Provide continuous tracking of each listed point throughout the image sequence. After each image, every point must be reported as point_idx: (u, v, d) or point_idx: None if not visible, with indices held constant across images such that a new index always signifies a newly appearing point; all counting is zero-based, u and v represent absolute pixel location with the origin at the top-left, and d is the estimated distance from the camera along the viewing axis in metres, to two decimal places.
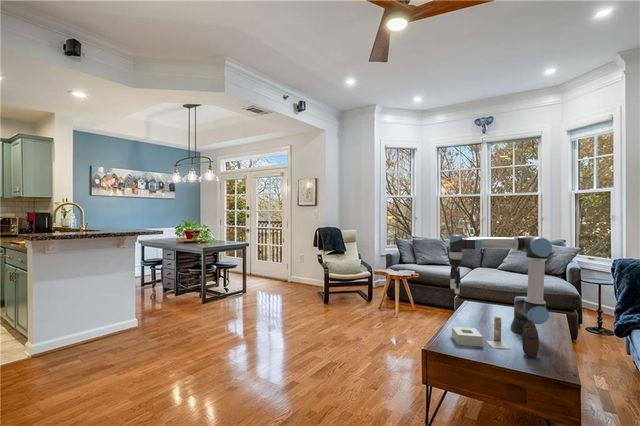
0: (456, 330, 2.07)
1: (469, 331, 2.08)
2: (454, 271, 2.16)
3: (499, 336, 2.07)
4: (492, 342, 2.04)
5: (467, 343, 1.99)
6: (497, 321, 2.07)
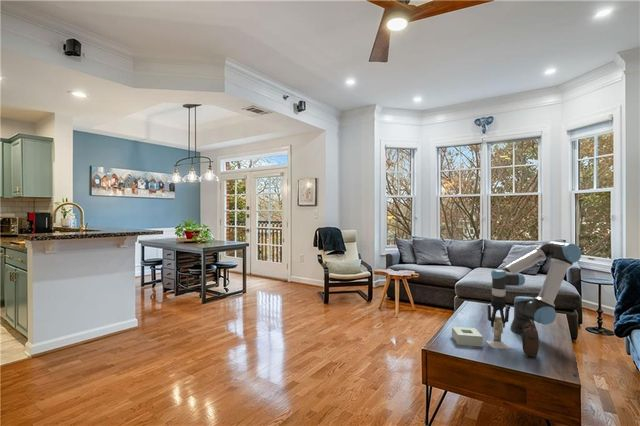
0: (456, 330, 2.07)
1: (469, 331, 2.08)
2: None
3: (499, 336, 2.07)
4: (492, 342, 2.04)
5: (467, 343, 1.99)
6: (497, 321, 2.07)
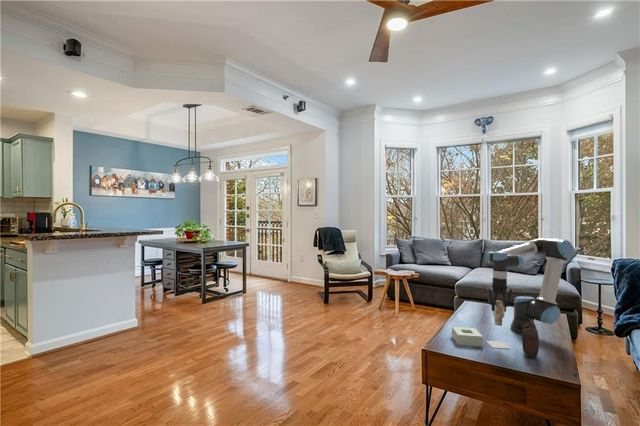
0: (456, 330, 2.07)
1: (469, 331, 2.08)
2: None
3: (500, 320, 1.98)
4: (492, 342, 2.04)
5: (467, 343, 1.99)
6: (498, 305, 1.99)
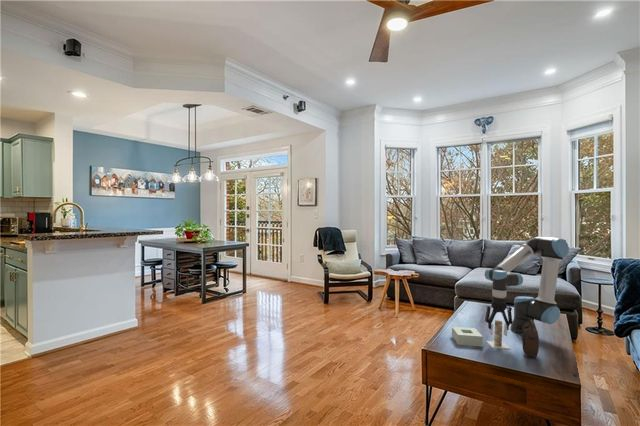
0: (456, 330, 2.07)
1: (469, 331, 2.08)
2: None
3: (500, 341, 1.98)
4: (492, 342, 2.04)
5: (467, 343, 1.99)
6: (498, 325, 1.99)
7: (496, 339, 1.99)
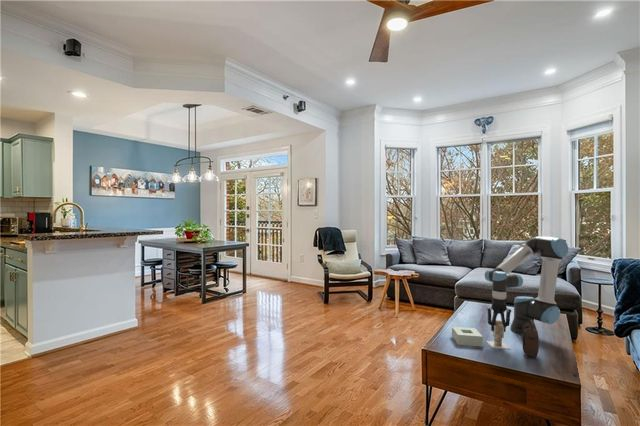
0: (456, 330, 2.07)
1: (469, 331, 2.08)
2: None
3: (500, 341, 1.98)
4: (492, 342, 2.04)
5: (467, 343, 1.99)
6: (498, 325, 1.99)
7: (496, 339, 1.99)
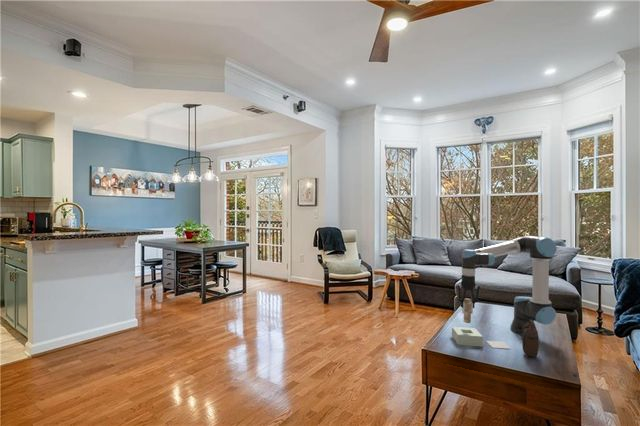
0: (456, 330, 2.07)
1: (469, 331, 2.08)
2: None
3: (468, 318, 2.04)
4: (492, 342, 2.04)
5: (467, 343, 1.99)
6: (467, 303, 2.04)
7: (465, 316, 2.04)
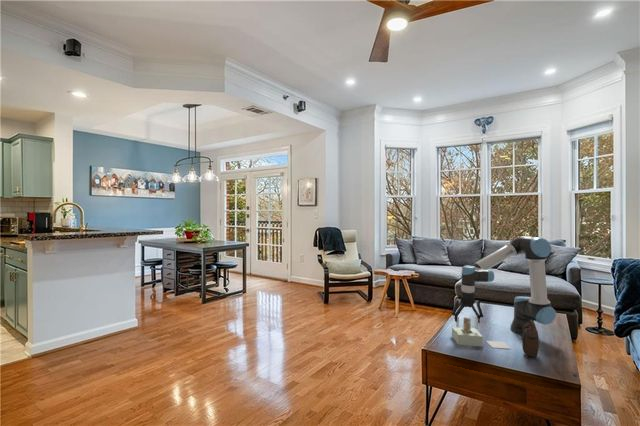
0: (456, 330, 2.07)
1: None
2: None
3: None
4: (492, 342, 2.04)
5: (467, 343, 1.99)
6: (466, 322, 2.04)
7: None
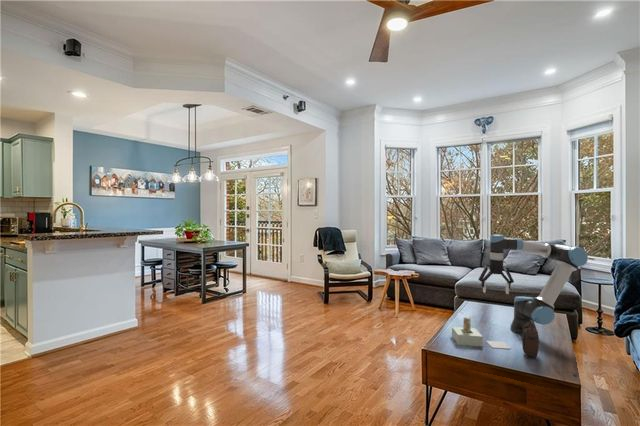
0: (456, 330, 2.07)
1: None
2: None
3: None
4: (492, 342, 2.04)
5: (467, 343, 1.99)
6: (466, 322, 2.04)
7: None
